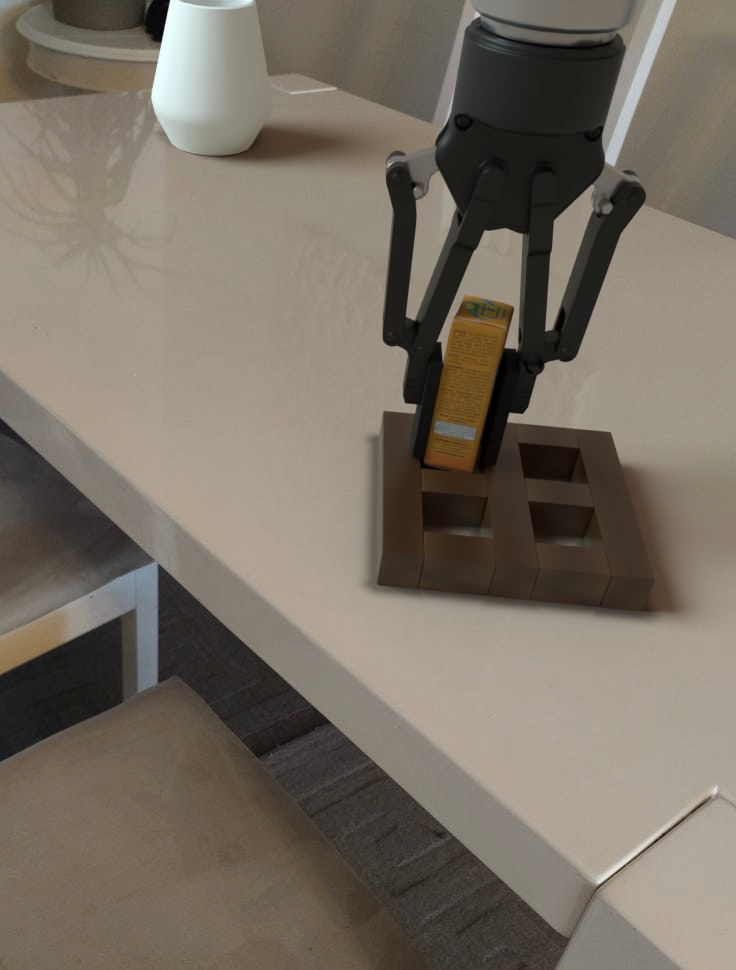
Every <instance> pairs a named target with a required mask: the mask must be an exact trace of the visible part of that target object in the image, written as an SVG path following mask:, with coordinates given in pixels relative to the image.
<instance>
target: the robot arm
mask: <svg viewBox="0 0 736 970" xmlns="http://www.w3.org/2000/svg"><path fill="white" fill-rule="evenodd" d="M469 2H470V5H471V7H473V10H474V11H476V13H478V15H479V16H477V17H476V18H474V19H473V20H471V22H470V24H469V25H467V26H466V27H465V29H464V34H463V39H462V44H461V45H462V46H461V52H460V57H459V63H458V69H457V74H456V81H455V84H454V85H455V86H454V90H453V91H454V92H453V98H452V104H451V109H450V113H449V116H448V118H447V121H446V123H445V125H444V126H443V128H442V129H441V130H440V132H439V133H438V135H437V137H436V139H435V142H434V145H431V146H429V147H426V148H423V149H420V150H417V151H414V152H411V153H408V154H406V153H405V152H404V151H402V150H393V151H392V152H390V153H389V154H388V156H387V157H386V159H385V184H386V188H387V191H388V196H389V200H390V203H391V207H392V215H391V223H390V224H391V225H390V234H389V236H390V237H389V246H388V256H387V265H386V266H387V268H386V277H385V287H384V288H385V289H384V299H383V310H382V326H381V327H382V328H381V329H382V331H381V332H382V333H381V334H382V341H383V343H384V344H385V345H386V346H388V347H391V348H392V347H393V348H394V347H398V348H401V349H403V350H405V352H406V353H407V357H406V361H405V362H406V363H405V368H404V373H403V380H402V397H403V401H404V404H407V405H415V406H416V407H415V412H414V414H415V417H414V422H413V428H412V433H411V442H412V458H421V459H424V456H425V451H426V446H427V441H428V436H429V431H430V426H431V421H432V416H433V411H434V406H435V401H436V396H437V391H438V386H439V381H440V377H441V372H442V367H443V360H444V357H443V347H442V341H439V337H440V335H441V333H442V330H443V328H444V325H445V323H446V320H447V318H448V315H449V313H450V310H451V308H452V306H453V303H454V300H455V298H456V297H457V294H458V291H459V289H460V286H461V284H462V281H463V279H464V276H465V274H466V272H467V269H468V267H469V264H470V262H471V259H472V257H473V254H474V253H475V251H476V250H477V249H478V247H479V245H480V244H481V243H480V242H481V240H482V238H483V235H484V233H485V232H486V231H487V232H490V231H491V232H492V231H497V230H503V229H507V230H508V231H512V232H514V233H517V234H521V235H522V243H521V265H520V267H521V268H520V285H519V287H520V288H519V306H518V328H517V329H518V331H517V344H518V345H517V348H510V347H505V348H504V352H503V356H502V360H501V364H500V368H499V372H498V376H497V380H496V383H495V387H494V391H493V395H492V399H491V404H490V408H489V411H488V415H487V419H486V424H485V428H484V432H483V436H482V440H481V447H482V456H483V464H484V465H494V466H496V462H497V458H498V455H499V451H500V447H501V443H502V439H503V436H504V432H505V428H506V424H507V422H508V420H509V417H510V414H517V415H524V414H525V412H526V411H527V409H528V408H529V407H530V403H531V399H532V395H533V391H534V388H535V384H536V381H537V377H538V376H539V375H540V374H542V373H543V372H544V370H545V367H546V365H545V364H547V363H550V362H554V361H559V362H562V363H570V362H573V361H574V359H576V358H577V356H578V354H579V351H580V349H581V346H582V343H583V340H584V338H585V334H586V332H587V329H588V327H589V324H590V322H591V319H592V316H593V312H594V310H595V307H596V304H597V301H598V298H599V296H600V293H601V291H602V287H603V285H604V282H605V279H606V276H607V274H608V271H609V268H610V265H611V262H612V260H613V257H614V254H615V252H616V250H617V249H616V248H617V246H618V243H619V241H620V238H621V235H622V233H623V232H624V231H625V229H626V228H627V227H628V225H629V224H630V223H631V221H632V220H633V219H634V217H635V216H637V215H636V214H638V212H639V211H640V210H641V208H642V207H643V205H644V204H645V202H646V200H647V193H646V189H645V188H644V187H643V184H642V182H641V180H640V178H639V176H638V175H637V173H636V172H635V171H634V170H631V169H625V170H620V169H619V168H617V167H615V166H613V165H611V164H610V163H609V162H606V154H605V150H604V145H603V133H604V130H605V127H606V124H607V120H608V116H609V112H610V109H611V104H612V101H613V98H614V95H615V94H614V93H615V90H616V87H617V83H618V79H619V77H620V73H621V69H622V66H623V63H624V58H625V54H626V51H627V46H626V44H625V43H624V38H623V37H622V35H620V33H618V31H619V30H624V29H625V28H626V27H628V26H629V25H630V24H632V23H633V22H634V20H635V17H636V14H637V10H638V6H639V2H640V0H469ZM437 172H439V173H440V175H441V177H442V179H443V181H444V183H445V185H446V187H447V189H448V192H449V193H450V195H451V198H452V199H453V202H454V204H455V205H456V207H455V210H454V213H453V216H452V218H451V223H450V227H449V230H448V232H447V235H446V238H445V241H444V243H443V246H442V248H441V251H440V254H439V256H438V258H437V261H436V264H435V266H434V268H433V272H432V274H431V277H430V280H429V282H428V285H427V287H426V290H425V292H424V296H423V298H422V301H421V303H420V306H419V308H418V310H417V313H416V315H415V319H412V318H409V316H407V309H408V302H409V292H410V283H411V274H412V266H413V257H414V247H415V239H416V230H417V219H418V218H417V216H418V215H417V214H418V213H417V201H418V200H422V199H423V198H424V197H426V196H427V194H428V193H429V190H430V180H431V178H432V177H433V175H434V174H436V173H437ZM592 185H593V191H592V193H591V196H590V203H591V206H592V209H593V210H592V211H591V213H590V215H589V218H588V222H587V224H586V227H585V230H584V233H583V236H582V239H581V242H580V246H579V248H578V251H577V254H576V257H575V260H574V263H573V266H572V269H571V272H570V275H569V278H568V281H567V284H566V287H565V290H564V293H563V296H562V299H561V302H560V304H559V308H558V311H557V314H556V317H555V319H554V322H553V326H552V329H549V330H546V327H547V312H548V311H547V310H548V297H549V296H548V295H549V279H550V265H551V254H552V251H553V244H554V243H553V242H554V240H553V239H554V228H555V227H554V226H555V221H556V219H558V218H559V217H560V216H561V214H563V213H564V212H565V211H566V210H567V209H569V207H571V205H572V204H573V203H574V202H575V201H576V200H577V199H578V198H580V197H581V196H582V195H583V194H584V193H585V192H586V191H587V190H588V189H589V188H590V187H591V186H592Z"/></svg>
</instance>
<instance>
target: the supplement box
mask: <svg viewBox="0 0 736 970" xmlns="http://www.w3.org/2000/svg"><path fill="white" fill-rule="evenodd" d="M514 312H515V307H514V306H513V305H511V304H509V303H505V302H500V301H498V300H493V299H488V298H483V297H479V296H473V295H466V294H464V295H462V299H461V302H460V305H459V307H458V310H457V312H456V313H455V315H454V316H453V318H452V322H451V325H450V328H449V333H448V338H447V343H446V346H445V351H444V357H443V367H442V372H441V377H440V381H439V386H438V391H437V396H436V401H435V406H434V411H433V416H432V421H431V426H430V431H429V436H428V441H427V446H426V451H425V456H424V460H423V461H424V464H423V465H425V466H426V467H427V466H428V467H431V468H436V469H439V470H444V471H454V472H464V473H473V472H474V469H473V468H474V466H475V462H476V459H477V456H478V452H479V448H480V444H481V440H482V436H483V432H484V428H485V424H486V419H487V415H488V411H489V408H490V404H491V399H492V395H493V391H494V387H495V383H496V380H497V376H498V372H499V368H500V364H501V360H502V356H503V352H504V348H506V344H507V340H508V336H509V331H510V328H511V324H512V321H513V317H514Z"/></svg>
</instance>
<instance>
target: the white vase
mask: <svg viewBox="0 0 736 970" xmlns="http://www.w3.org/2000/svg"><path fill="white" fill-rule="evenodd" d="M261 31H262V30H261V25H260V20H259V14H258V8H257V2H256V0H169V4H168V9H167V15H166V19H165V25H164V30H163V35H162V39H161V44H160V49H159V54H158V60H157V63H156V70H155V74H154V79H153V84H152V88H151V96H150V97H151V103H152V108H153V112H154V114H155V116H156V118H157V119H158V122H159V123H160V125H161V127H162V129H163V131H164V132H165V134H166V136H167V138H168V140H169V141H170V143H171V145H172V146H174V147H175V148H177V149H178V150H180V151H183V152H187V153H190V154H193V155H200V156H208V157H209V156H210V157H212V156H213V157H215V156H221V157H222V156H223V157H224V156H230V155H236V154H237V155H238V154H240V153H243V152H245V151H247V150H249V149H250V148H251V147H252V145H253V143H254V142H255V140H256V139H257V137H258V135H259V133H260V132H261V130H262V128H263V127H264V126H265V123H266V122H267V121H268V119H269V117H270V115H271V113H272V109H273V97H272V90H271V85H270V79H269V72H268V67H267V61H266V55H265V49H264V44H263V38H262V37H263V36H262V32H261Z"/></svg>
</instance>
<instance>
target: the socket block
mask: <svg viewBox="0 0 736 970" xmlns="http://www.w3.org/2000/svg"><path fill="white" fill-rule="evenodd" d="M414 417H415V413H413V412H411V413H410V412H401V411H390V410H383V411H382V417H381V422H380V429H379V435H378V443H377V445H378V446H377V456H378V457H377V503H376V504H377V508H376V509H377V510H376V512H377V513H376V516H377V517H376V572H375V573H376V575H375V576H376V578H375V584H376V585H377V586H384V587H385V586H387V587H395V588H404V589H413V590H414V589H418V590H424V591H433V592H435V591H436V592H443V593H454V594H463V595H472V596H473V595H474V596H484V597H486V596H487V597H494V598H503V599H504V598H505V599H512V600H513V599H514V600H524V601H533V602H544V603H555V604H564V605H575V606H582V607H592V608H603V609H612V610H613V609H614V610H622V611H624V610H625V611H631V612H632V611H633V612H642V611H643V609H644V608H645V604H646V603H647V600H648V598H649V595H650V594H651V591H652V589H653V587H654V585H655V582H656V578H655V574H654V572H653V571H654V570H653V568H652V565H651V561H650V558H649V555H648V551H647V548H646V545H645V541H644V537H643V535H642V532H641V527H640V524H639V521H638V517H637V514H636V511H635V508H634V505H633V504H634V503H633V501H632V497H631V495H630V491H629V488H628V484H627V481H626V478H625V475H624V471H623V467H622V464H621V460H620V458H619V454H618V450H617V447H616V444H615V441H614V437H613V434H612V432H611V431H605V430H604V431H603V430H593V429H585V428H584V429H583V428H573V427H562V426H561V427H560V426H552V425H540V424H531V423H520V422H510V421H507V424H506V428H505V432H504V436H503V439H502V443H501V447H500V451H499V455H498V458H497V462H496V466H494V465H484V464H483V456H482V447H481V444H480V448H479V452H478V456H477V459H476V462H475V466H474V468H473V472H472V473H464V472H455V471H450V470H445V469H433V468H422V465H425V464H424V461H423V460H424V459H421V458H412V442H411V433H412V428H413V422H414ZM524 475H531V476H540V477H553V478H561V479H562V478H563V479H564V478H565V479H569V480H570V482H567V481H557V480H547V479H537V478H526V477H524ZM424 523H428V524H438V525H446V526H447V525H448V526H459V527H469V528H477V529H478V528H479V530H480V536H475V535H465V534H453V533H445V532H435V531H424ZM535 534H540V535H548V536H549V535H550V536H560V537H570V538H578V539H579V538H581V539H583V541H584V545H585V546H574V545H564V544H554V543H544V542H536V540H535Z"/></svg>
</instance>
